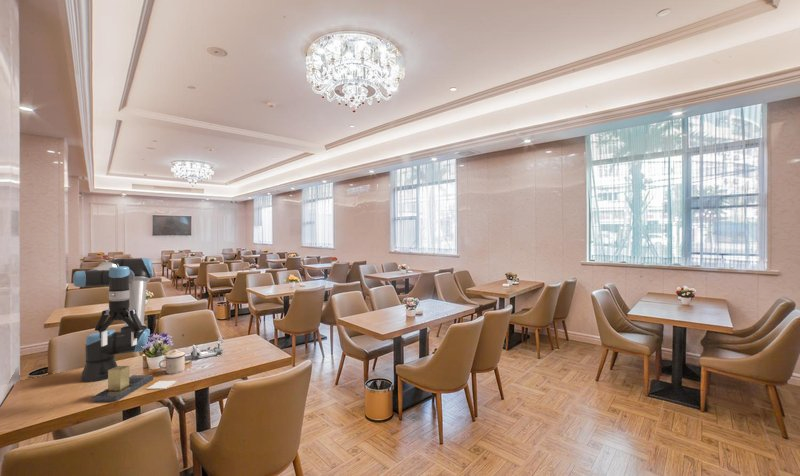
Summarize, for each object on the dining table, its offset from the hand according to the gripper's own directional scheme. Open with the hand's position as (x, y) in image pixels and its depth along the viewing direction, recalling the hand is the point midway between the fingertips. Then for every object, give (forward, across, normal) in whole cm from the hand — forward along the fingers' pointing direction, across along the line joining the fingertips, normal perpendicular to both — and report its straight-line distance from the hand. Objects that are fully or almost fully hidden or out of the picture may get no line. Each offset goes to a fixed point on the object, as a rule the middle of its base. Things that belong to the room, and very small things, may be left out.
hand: (119, 345), depth 164 cm
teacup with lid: (+23, +8, +27) cm, 36 cm away
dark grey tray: (+22, 0, +4) cm, 23 cm away
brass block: (+22, 0, 0) cm, 23 cm away
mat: (+22, +14, +9) cm, 28 cm away
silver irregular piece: (+23, +14, +55) cm, 61 cm away
